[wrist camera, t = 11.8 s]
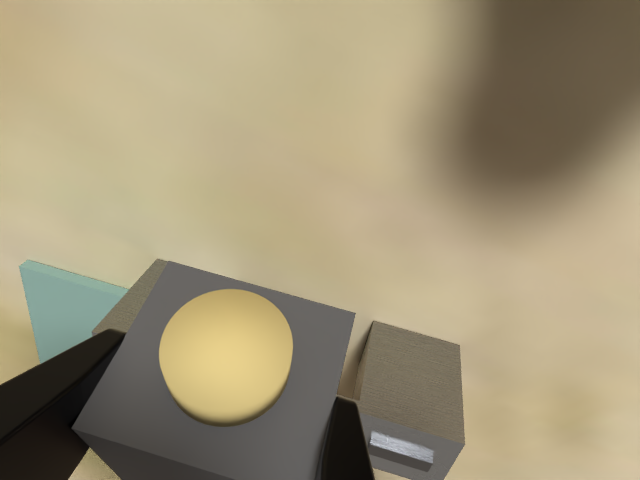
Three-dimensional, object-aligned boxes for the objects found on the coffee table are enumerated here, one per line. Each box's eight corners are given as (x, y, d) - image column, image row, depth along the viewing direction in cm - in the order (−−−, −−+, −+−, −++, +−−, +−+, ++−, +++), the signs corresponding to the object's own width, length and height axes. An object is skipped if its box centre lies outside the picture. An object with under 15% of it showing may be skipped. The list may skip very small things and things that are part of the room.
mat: (185, 462, 31) (181, 471, 31) (61, 422, 32) (55, 430, 32) (191, 307, 24) (186, 315, 23) (27, 259, 24) (19, 266, 24)
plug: (315, 432, 16) (284, 553, 14) (201, 398, 16) (153, 512, 14) (363, 291, 9) (315, 492, 7) (162, 236, 9) (54, 412, 7)
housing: (438, 388, 23) (438, 495, 18) (157, 305, 24) (93, 387, 20) (459, 345, 21) (465, 451, 17) (157, 258, 22) (86, 336, 18)
